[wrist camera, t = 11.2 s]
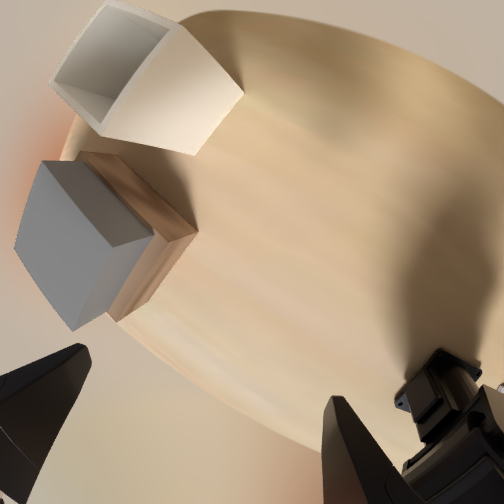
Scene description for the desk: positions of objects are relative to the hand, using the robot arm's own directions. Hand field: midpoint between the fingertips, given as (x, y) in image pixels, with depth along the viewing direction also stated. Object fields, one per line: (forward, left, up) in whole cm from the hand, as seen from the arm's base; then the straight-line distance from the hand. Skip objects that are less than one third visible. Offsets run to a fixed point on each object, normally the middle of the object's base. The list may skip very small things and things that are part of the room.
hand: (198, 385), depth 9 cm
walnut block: (+12, +2, -12) cm, 17 cm away
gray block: (+12, +2, -8) cm, 14 cm away
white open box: (+11, -9, -12) cm, 19 cm away
